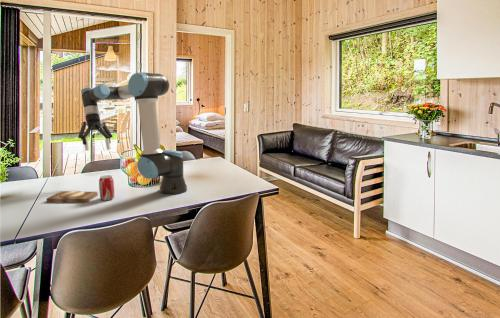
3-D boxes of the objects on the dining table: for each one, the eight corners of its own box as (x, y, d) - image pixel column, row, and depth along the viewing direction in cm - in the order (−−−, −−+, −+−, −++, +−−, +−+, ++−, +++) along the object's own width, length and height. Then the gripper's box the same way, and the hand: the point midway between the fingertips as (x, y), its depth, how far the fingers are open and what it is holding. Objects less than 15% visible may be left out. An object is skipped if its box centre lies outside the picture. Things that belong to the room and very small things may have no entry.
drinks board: (97, 195, 188) (97, 190, 187) (86, 202, 175) (85, 197, 175) (60, 194, 188) (60, 190, 187) (46, 202, 175) (46, 197, 175)
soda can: (97, 199, 181) (95, 176, 179) (110, 196, 186) (108, 174, 184) (104, 201, 177) (103, 178, 174) (117, 198, 182) (116, 176, 180)
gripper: (107, 117, 216) (113, 150, 215) (67, 115, 195) (74, 152, 194) (114, 113, 212) (120, 147, 210) (74, 111, 191) (81, 148, 190)
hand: (98, 149), depth 202 cm, fingers open, 13 cm apart
